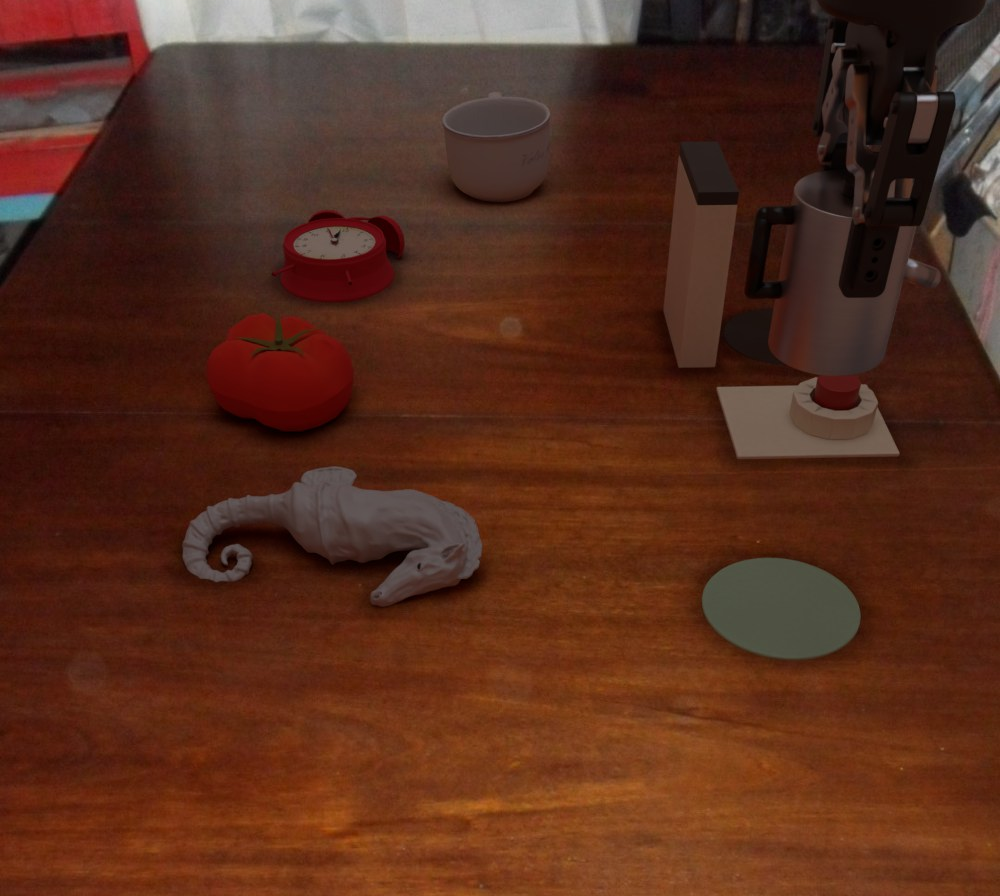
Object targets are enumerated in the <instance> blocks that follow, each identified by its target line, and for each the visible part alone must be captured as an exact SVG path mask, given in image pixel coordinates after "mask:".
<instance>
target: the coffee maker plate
mask: <svg viewBox="0 0 1000 896" xmlns="http://www.w3.org/2000/svg"><path fill="white" fill-rule="evenodd" d="M773 309H774V307H772V308H771V307H770V308H758V309H753V310H748V311H744V312H742V313H738V314H737V315H734V316H733V317H731V318H730V319H729V320H728V321H727V322H726V323H725V325H724V326H723V330H722V335H723V339H724V340H725V342H726V344H727V345H728V346H729V347H730V348H731V349H732V350H734V351H735V352H737V353H738V354H740V355H742V356H744V357H746V358H749V359H751V360H754V361H757V362H760V363H764V364H770V365H776V366H786V367H787V366H788V365H786V364H785V363H783V362H781V361H780V360H779V359H777V358H776V357H775V356H774V355H773V353H772V352H771V350H770V348H769V345H768V339H769V333H770V327H771V321H772V315H773ZM788 367H789V366H788Z"/></svg>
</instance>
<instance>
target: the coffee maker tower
mask: <svg viewBox="0 0 1000 896" xmlns="http://www.w3.org/2000/svg"><path fill="white" fill-rule="evenodd" d="M739 196H740V190H739V188H738V186H737V184H736V181H735V179H734V176H733V174H732V172H731V169H730V167H729V165H728V162H727V161H726V158H725V155H724V153H723V151H722V148H721V146H720V144H719V141H680V143H679V151H678V161H677V170H676V181H675V189H674V200H673V209H672V218H671V219H672V221H671V230H670V238H669V249H668V260H667V270H666V280H665V288H664V289H665V290H664V298H663V299H664V301H663V309H662V310H663V311H662V312H663V315H664V318H665V323H666V326H667V329H668V333H669V337H670V341H671V344H672V348H673V352H674V356H675V360H676V364H677V367H678V368H680V369H683V368H685V369H686V368H691V369H692V368H716V364H717V357H718V349H719V342H720V334H721V327H722V322H723V321H722V320H723V313H724V306H725V299H726V291H727V284H728V279H729V271H730V270H729V269H730V261H731V255H732V249H733V240H734V232H735V227H736V226H735V225H736V220H737V219H736V218H737V212H738V203H739V198H740V197H739Z"/></svg>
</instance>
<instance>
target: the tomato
mask: <svg viewBox="0 0 1000 896" xmlns="http://www.w3.org/2000/svg"><path fill="white" fill-rule="evenodd" d="M205 367H206V369H205V370H206V372H205V373H206V379H205V380H206V382H207V384H208V387H209V389H210V392H211V394H212V396H213V398H214V400H215V402H217V404H218V405H219V406H220V407H221V408H222V409H223V410H224V411H226V412H228V413H230V414H232V415H234V416H236V417H239V418H241V419H247V420H256V421H257V422H259V423H260V424H262V425H264V426H266V427H269V428H273V429H276V430H279V431H281V432H303V431H307V430H310V429H315V428H318V427H320V426H321V427H322V426H323V425H325V424H327V423H328V422H331V421H332V420H335V419H336V418H337V417H338V416H339V415H340V414H341V413H342V411H343V410H344V409H345V408H346V407H347V405H348V403H349V401H350V398H351V396H352V391H353V387H354V376H355V369H354V365H353V361H352V358H351V355H350V353H349V352H348V351H347V349H346V347H345V346H344V345H343V343H342V342H340V340H338V339H336V338H334V337H333V336H331V335H329V334H327V333H326V332H325V330H323V329H322V327H320V328H319V327H317V326H315V325H313V324H311V322H309V321H308V320H307V319H304V318H301V317H299V316H296V315H289V316H285V317H283V318H281V317H280V315H279V316H278V317H277V319H275V318H273V317H272V316H270V315H269V314H267V313H264V312H263V313H257V314H250V315H248V316H246V317H244V318H243V319H241V320H240V321H238V322H237V323H236V324H234V325H233V326H231V327H230V328H229V329H228V332H227V335H226V339H225V341H223V342H222V343H221V344H219V345H218V346H216V347H214V348H213V349H212V351H211V353H210V354H209V357H208V359H207V362H206V366H205Z"/></svg>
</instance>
